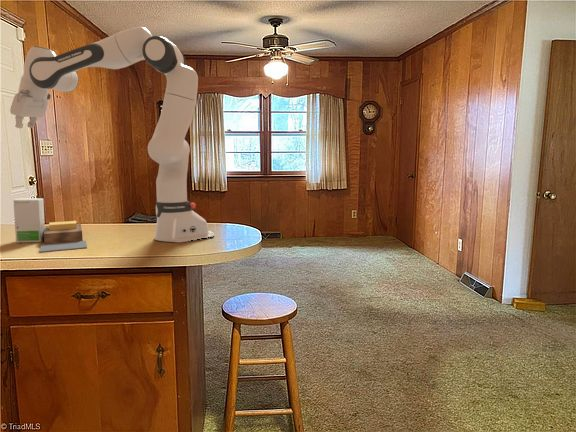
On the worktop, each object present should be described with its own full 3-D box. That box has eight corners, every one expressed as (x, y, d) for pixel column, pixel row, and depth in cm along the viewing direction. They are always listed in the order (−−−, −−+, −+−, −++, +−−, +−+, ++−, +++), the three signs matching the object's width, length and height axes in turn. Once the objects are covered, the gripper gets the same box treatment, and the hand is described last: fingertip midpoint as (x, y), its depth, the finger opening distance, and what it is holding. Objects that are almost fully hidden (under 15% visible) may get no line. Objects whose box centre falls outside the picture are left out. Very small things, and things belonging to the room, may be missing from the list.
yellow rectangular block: (76, 225, 159) (76, 220, 159) (77, 228, 154) (76, 223, 153) (49, 227, 155) (49, 222, 154) (49, 230, 150) (48, 225, 149)
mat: (85, 241, 150) (85, 240, 150) (87, 248, 140) (87, 246, 140) (41, 245, 143) (41, 244, 143) (39, 252, 134) (39, 251, 134)
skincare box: (15, 243, 147) (11, 200, 144) (21, 239, 153) (17, 197, 150) (42, 242, 149) (38, 199, 146) (47, 238, 155) (43, 197, 153)
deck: (81, 233, 164) (80, 223, 163) (82, 241, 150) (81, 230, 149) (46, 236, 158) (45, 226, 158) (44, 245, 144) (43, 233, 144)
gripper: (29, 92, 141) (20, 131, 144) (53, 96, 161) (44, 129, 163) (9, 85, 140) (1, 125, 142) (35, 90, 160) (27, 124, 162)
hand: (24, 127), depth 153 cm, fingers open, 8 cm apart
